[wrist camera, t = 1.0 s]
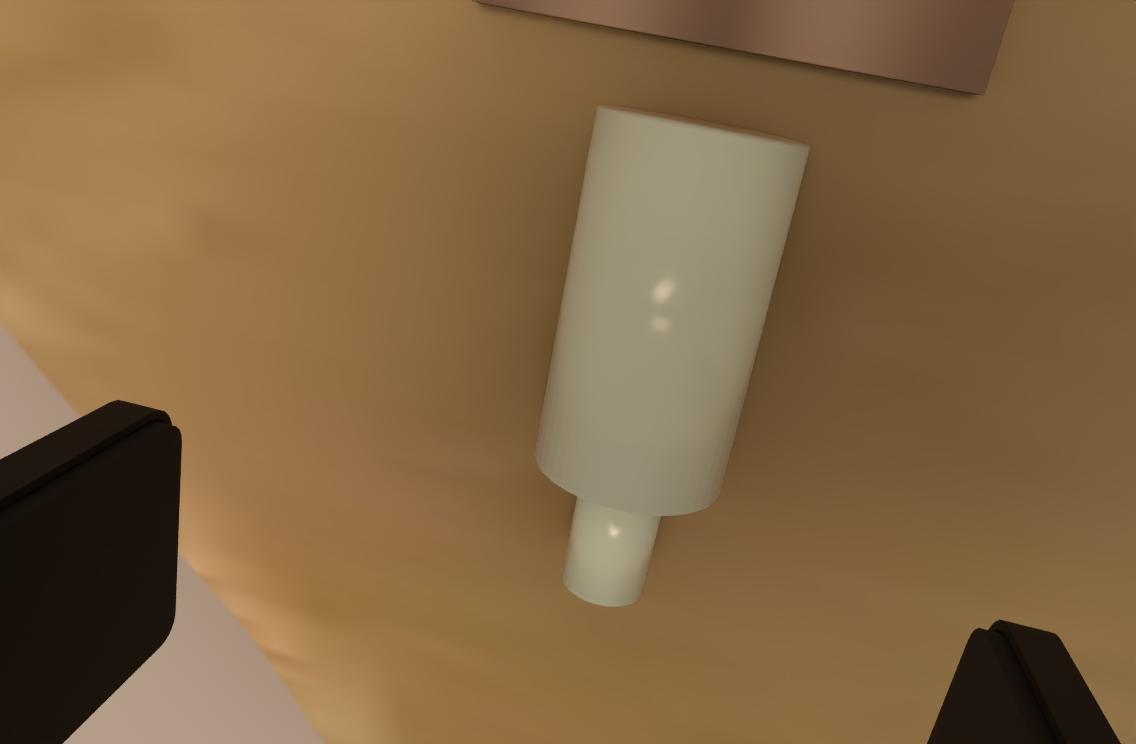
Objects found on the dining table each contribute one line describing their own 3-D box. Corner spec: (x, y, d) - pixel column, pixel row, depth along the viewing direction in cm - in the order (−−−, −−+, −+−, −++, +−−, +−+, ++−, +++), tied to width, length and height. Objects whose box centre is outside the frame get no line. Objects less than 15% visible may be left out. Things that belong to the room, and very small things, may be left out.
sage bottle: (610, 101, 26) (582, 108, 21) (800, 138, 26) (821, 155, 21) (533, 519, 31) (494, 610, 26) (693, 557, 30) (687, 657, 25)
